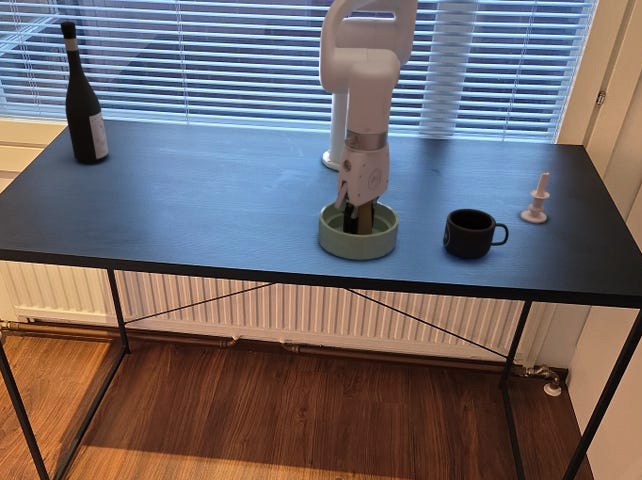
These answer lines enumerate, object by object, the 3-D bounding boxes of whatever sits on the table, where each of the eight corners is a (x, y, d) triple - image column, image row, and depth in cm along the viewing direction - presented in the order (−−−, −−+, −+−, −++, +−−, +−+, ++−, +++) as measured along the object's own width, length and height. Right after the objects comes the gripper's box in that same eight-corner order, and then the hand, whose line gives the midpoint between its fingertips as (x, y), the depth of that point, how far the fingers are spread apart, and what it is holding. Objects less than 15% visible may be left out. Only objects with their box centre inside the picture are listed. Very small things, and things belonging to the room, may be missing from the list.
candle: (515, 215, 140) (527, 168, 133) (532, 209, 142) (545, 163, 136) (533, 225, 137) (547, 178, 130) (551, 220, 139) (565, 172, 132)
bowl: (366, 217, 139) (369, 192, 135) (411, 250, 129) (414, 224, 125) (304, 233, 133) (304, 208, 130) (345, 269, 123) (347, 243, 119)
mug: (443, 263, 125) (450, 230, 120) (438, 239, 132) (444, 206, 127) (508, 266, 124) (517, 233, 120) (499, 242, 131) (507, 209, 127)
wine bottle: (112, 152, 163) (90, 18, 144) (106, 165, 157) (82, 27, 138) (78, 152, 163) (52, 18, 143) (72, 165, 157) (43, 27, 137)
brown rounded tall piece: (375, 234, 132) (381, 182, 125) (368, 249, 128) (373, 196, 121) (346, 229, 133) (350, 177, 126) (338, 243, 129) (341, 191, 122)
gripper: (351, 156, 111) (344, 252, 123) (411, 130, 120) (399, 221, 132) (318, 144, 115) (314, 237, 127) (378, 119, 124) (369, 209, 136)
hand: (357, 228), depth 129 cm, fingers closed on brown rounded tall piece, 4 cm apart
